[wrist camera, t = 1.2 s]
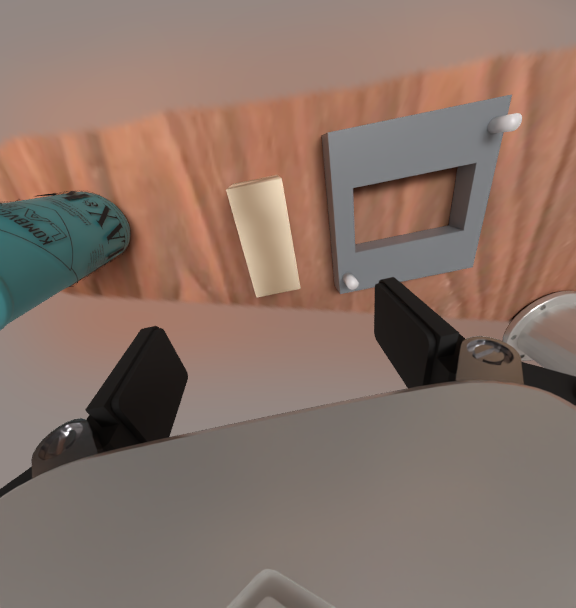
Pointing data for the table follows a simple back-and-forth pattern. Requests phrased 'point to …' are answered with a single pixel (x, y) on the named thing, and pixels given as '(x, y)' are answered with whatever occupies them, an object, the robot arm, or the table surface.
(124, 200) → the table surface
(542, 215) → the table surface
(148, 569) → the robot arm
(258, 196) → the key block
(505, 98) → the slot board
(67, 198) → the beverage bottle
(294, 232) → the table surface
